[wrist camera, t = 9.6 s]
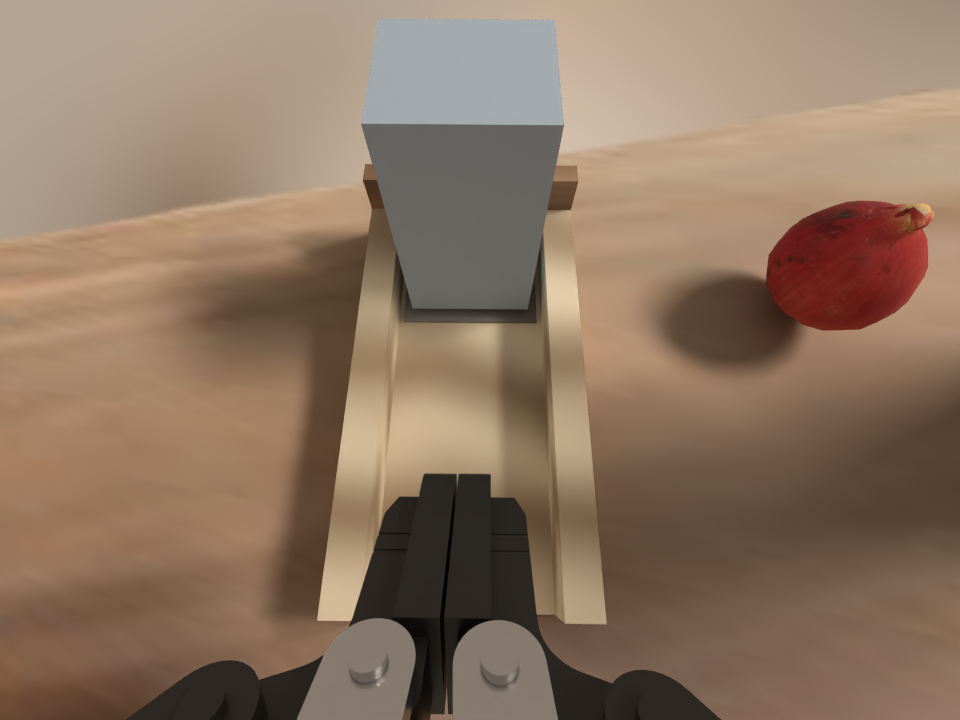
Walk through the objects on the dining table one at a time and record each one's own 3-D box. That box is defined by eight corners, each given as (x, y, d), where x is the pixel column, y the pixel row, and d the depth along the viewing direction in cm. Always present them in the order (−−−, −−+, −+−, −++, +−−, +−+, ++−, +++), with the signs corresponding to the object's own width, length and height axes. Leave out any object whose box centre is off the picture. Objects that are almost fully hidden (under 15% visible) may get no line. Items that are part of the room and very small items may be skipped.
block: (527, 309, 23) (563, 125, 13) (412, 308, 23) (361, 123, 13) (524, 232, 25) (554, 20, 15) (418, 231, 25) (377, 18, 15)
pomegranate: (716, 309, 25) (816, 207, 17) (768, 247, 26) (879, 129, 19) (814, 376, 23) (970, 295, 16) (863, 305, 25) (1024, 202, 17)
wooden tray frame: (588, 613, 19) (622, 633, 14) (340, 610, 19) (296, 629, 14) (560, 232, 27) (576, 165, 22) (384, 230, 27) (365, 164, 22)
